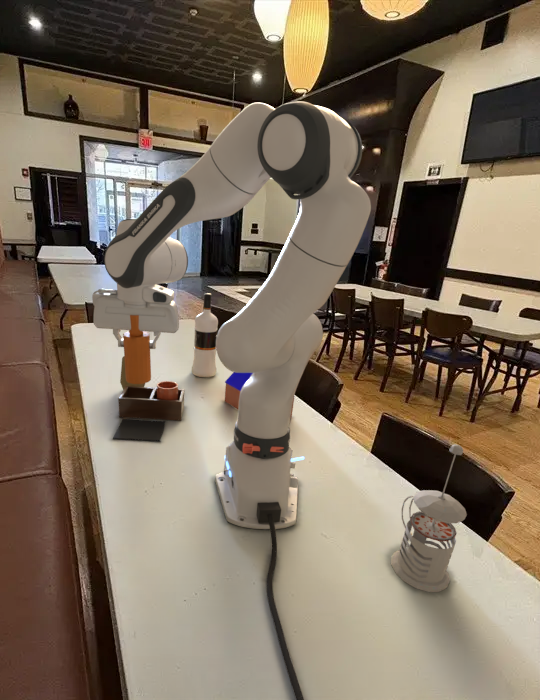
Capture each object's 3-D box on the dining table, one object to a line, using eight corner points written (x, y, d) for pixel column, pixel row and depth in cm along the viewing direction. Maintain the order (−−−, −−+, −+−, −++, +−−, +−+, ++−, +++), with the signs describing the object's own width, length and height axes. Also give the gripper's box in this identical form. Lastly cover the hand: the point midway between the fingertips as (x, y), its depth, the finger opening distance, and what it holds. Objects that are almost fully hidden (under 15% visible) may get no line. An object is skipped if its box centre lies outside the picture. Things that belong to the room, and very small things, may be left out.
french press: (414, 597, 67) (455, 465, 58) (374, 545, 77) (403, 427, 68) (463, 586, 70) (509, 459, 61) (417, 538, 80) (451, 423, 71)
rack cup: (176, 418, 120) (177, 389, 117) (155, 416, 120) (155, 388, 116) (178, 409, 125) (179, 381, 122) (158, 408, 125) (158, 380, 122)
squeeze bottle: (149, 388, 138) (149, 336, 132) (141, 398, 131) (140, 343, 124) (125, 386, 139) (124, 334, 132) (116, 395, 131) (114, 340, 125)
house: (263, 426, 119) (267, 389, 115) (223, 401, 133) (225, 367, 129) (293, 417, 126) (298, 382, 122) (251, 394, 140) (254, 361, 136)
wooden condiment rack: (181, 420, 118) (181, 401, 116) (119, 417, 117) (118, 398, 115) (184, 407, 127) (184, 389, 125) (126, 404, 126) (125, 385, 124)
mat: (159, 441, 107) (159, 440, 107) (112, 439, 106) (112, 437, 106) (165, 422, 117) (165, 420, 117) (122, 419, 116) (122, 418, 116)
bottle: (148, 384, 103) (146, 317, 96) (123, 383, 103) (119, 316, 96) (152, 375, 109) (150, 311, 102) (128, 374, 108) (125, 310, 102)
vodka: (210, 379, 150) (214, 297, 139) (187, 375, 153) (189, 293, 142) (219, 372, 158) (224, 293, 147) (198, 367, 161) (201, 290, 150)
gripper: (87, 290, 94) (91, 348, 99) (177, 296, 95) (176, 353, 101) (95, 286, 100) (98, 341, 105) (180, 292, 101) (179, 346, 106)
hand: (137, 347), depth 103 cm, fingers closed on bottle, 6 cm apart
